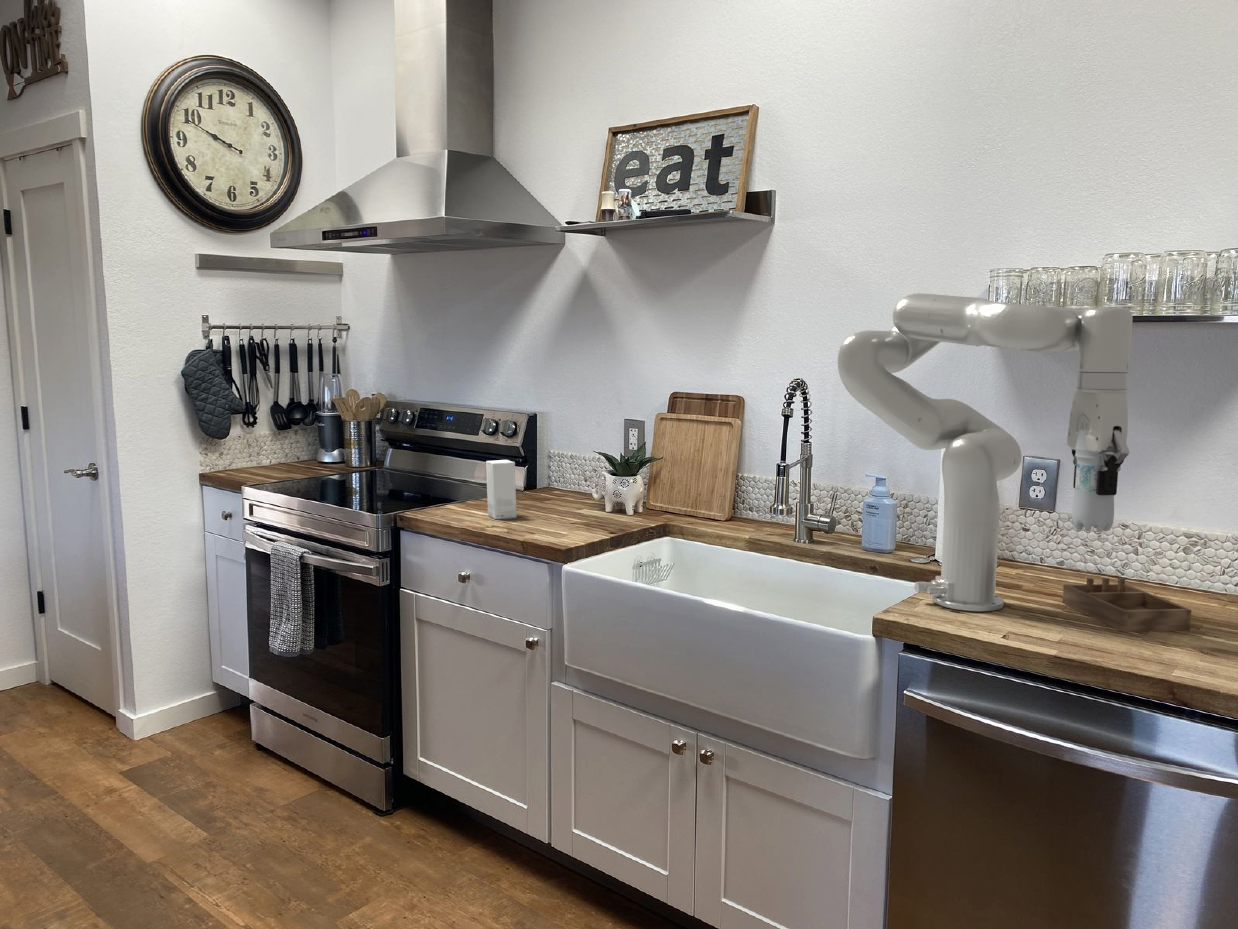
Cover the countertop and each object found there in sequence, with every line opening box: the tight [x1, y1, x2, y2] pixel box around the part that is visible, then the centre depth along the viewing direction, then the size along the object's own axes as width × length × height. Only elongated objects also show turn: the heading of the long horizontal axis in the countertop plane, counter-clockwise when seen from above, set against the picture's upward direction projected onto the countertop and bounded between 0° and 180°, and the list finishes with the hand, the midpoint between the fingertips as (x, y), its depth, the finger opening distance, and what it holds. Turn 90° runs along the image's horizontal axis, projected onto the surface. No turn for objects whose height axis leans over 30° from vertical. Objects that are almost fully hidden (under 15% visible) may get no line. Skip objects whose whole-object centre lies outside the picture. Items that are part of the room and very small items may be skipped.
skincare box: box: [485, 459, 518, 520], centre depth 259 cm, size 8×7×16 cm
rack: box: [1062, 577, 1192, 633], centre depth 166 cm, size 12×18×5 cm, turn 5°
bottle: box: [1071, 430, 1115, 533], centre depth 156 cm, size 7×7×20 cm
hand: (1094, 490), depth 157 cm, fingers closed on bottle, 5 cm apart
